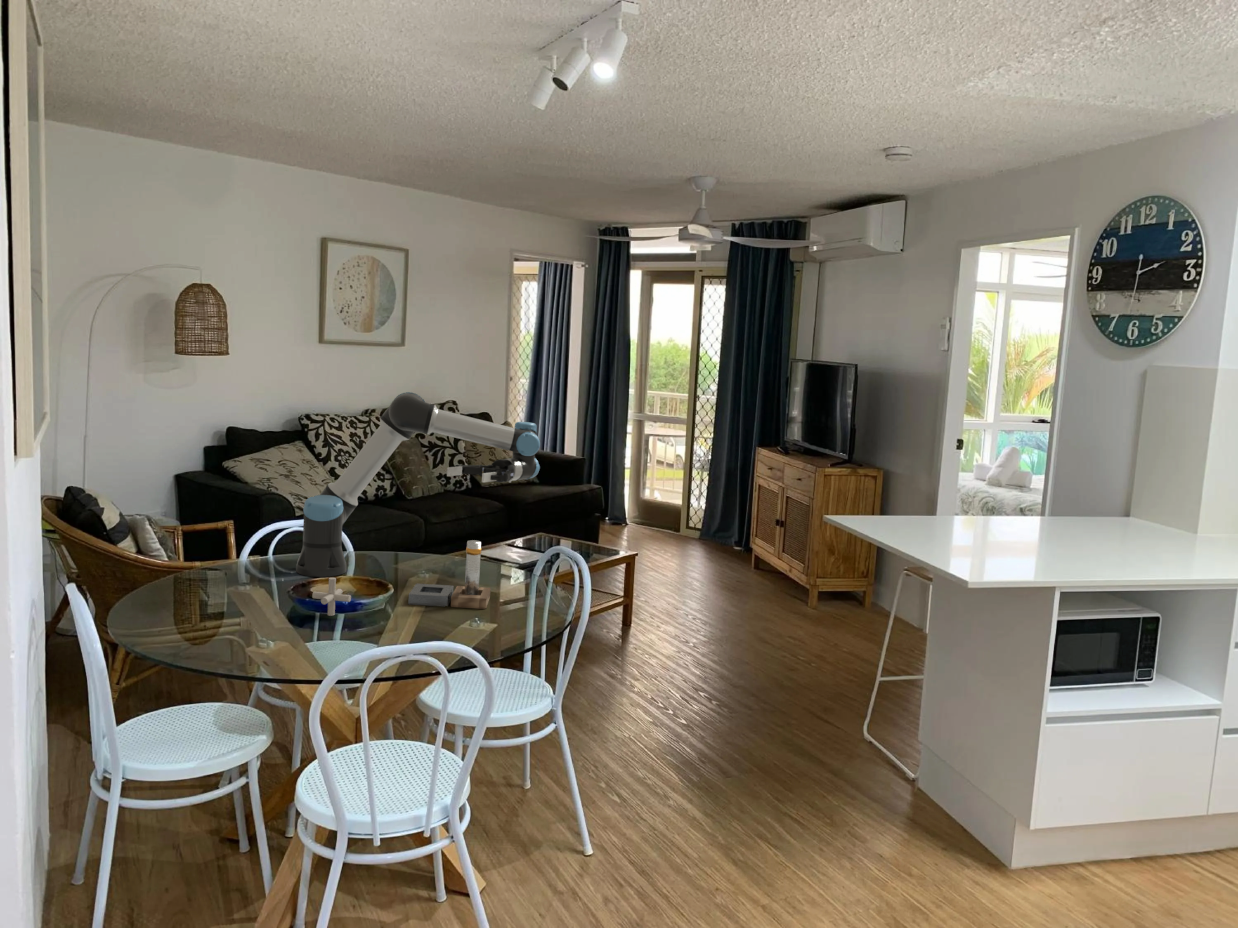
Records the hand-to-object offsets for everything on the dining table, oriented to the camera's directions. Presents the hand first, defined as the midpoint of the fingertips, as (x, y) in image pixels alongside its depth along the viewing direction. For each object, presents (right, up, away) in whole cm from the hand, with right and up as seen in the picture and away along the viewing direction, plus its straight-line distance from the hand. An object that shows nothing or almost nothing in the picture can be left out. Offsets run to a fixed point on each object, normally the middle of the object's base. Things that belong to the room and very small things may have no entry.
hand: (465, 474), depth 283 cm
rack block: (+4, -37, -15) cm, 40 cm away
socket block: (-7, -36, -16) cm, 40 cm away
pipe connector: (-30, -37, -37) cm, 60 cm away
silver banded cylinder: (+4, -37, -15) cm, 40 cm away
